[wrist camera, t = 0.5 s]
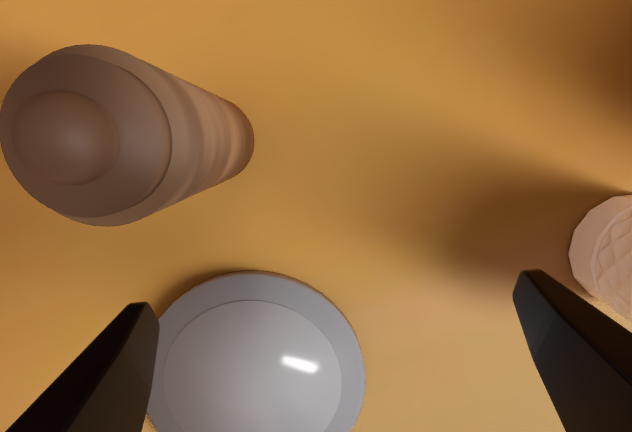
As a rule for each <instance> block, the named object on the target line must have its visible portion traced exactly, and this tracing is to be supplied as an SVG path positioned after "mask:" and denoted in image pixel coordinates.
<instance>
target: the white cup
mask: <svg viewBox="0 0 632 432" xmlns="http://www.w3.org/2000/svg"><path fill="white" fill-rule="evenodd" d="M568 255H569V260H570V264H571V268H572V272H573V276H574V278H575V279H576V280H577V281H578V282H579V283H580V284H581V285H582V287H583V288H584V289H585V290H586V291H587V292H588V293H589V294H590V295H592V296H593V297H595V298H597V299H598V300H600V301H602V302H603V303H605V304H606V305H608V306H610V307H611V308H612V309H614V310H615V311H616V312H617V313H619V314H620V315H621V316H623V317H624V318H625V319H627V320H628V321H630V322H631V323H632V195H623V196H614V197H612V198H610V199H608V200H606V201H605V202H603V203H601V204H599V205H598V206H596V207H594V208H592V209H591V210H590V211H589V212H588V213H587V214H586V216H585V217H584V218H583V220H582V221H581V222H580V223H579V225H578V226H577V227H576V229H575V230H574V233H573V237H572V241H571V245H570V249H569V253H568Z"/></svg>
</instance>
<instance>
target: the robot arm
mask: <svg viewBox="0 0 632 432" xmlns="http://www.w3.org/2000/svg"><path fill="white" fill-rule="evenodd" d="M513 302H514V305H515V308H516V311H517V314H518V317H519V320H520V323H521V326H522V329H523V332H524V335H525V338H526V341H527V344H528V347H529V350H530V353H531V355H532V358H533V361H534V363H535V365H536V368H537V370H538V372H539V374H540V377H541V379H542V381H543V383H544V385H545V387H546V390H547V392H548V394H549V396H550V398H551V400H552V402H553V405H554V407H555V409H556V411H557V413H558V415H559V418H560V420H561V422H562V424H563V426H564V428H565V431H566V432H632V333H631V332H630V331H628V330H627V329H626V328H624V327H623V326H621V325H620V324H618V323H617V322H616V321H614V320H613V319H611V318H610V317H608V316H607V315H605V314H604V313H603V312H601V311H600V310H598V309H597V308H595V307H594V306H593V305H591V304H590V303H588V302H587V301H585V300H584V299H583V298H581V297H580V296H578V295H577V294H575V293H574V292H572V291H571V290H570V289H568V288H567V287H565V286H564V285H562V284H561V283H560V282H558V281H557V280H555V279H554V278H552V277H551V276H550V275H548V274H547V273H545V272H544V271H542V270H540V269H531V270H523V271H522V272H520V274H519V277H518V279H517V282H516V285H515V288H514V290H513ZM159 332H160V325H159V322H158V319H157V318H156V316H155V314H154V312H153V310H152V308H151V306H150V305H149V303H147V302H135V303H130V304H129V305H127V306H126V307H125V308H124V309H123V310H122V311H121V312H120V313H119V314H118V315H117V316H116V318H115V319H114V320H113V321H112V322H111V323H110V324H109V325H108V326H107V327H106V328H105V329H104V330H103V331H102V332H101V333H100V334H99V335H98V336H97V337H96V338H95V339H94V340H93V341H92V342H91V343H90V344H89V345H88V347H87V348H86V349H85V350H84V351H83V352H82V353H81V354H80V355H79V356H78V357H77V358H76V359H75V360H74V361H73V362H72V363H71V364H70V365H69V366H68V367H67V368H66V369H65V370H64V371H63V372H62V373H61V374H60V376H59V377H58V378H57V379H56V380H55V381H54V382H53V383H52V384H51V385H50V386H49V387H48V388H47V389H46V390H45V391H44V392H43V393H42V394H41V395H40V396H39V397H38V398H37V399H36V400H35V401H34V402H33V403H32V404H31V406H30V407H29V408H28V409H27V410H26V411H25V412H24V413H23V414H22V415H21V416H20V417H19V418H18V419H17V420H16V421H15V422H14V423H13V424H12V425H11V426H10V427H9V428H8V429H7V430H6V431H5V432H141V431H142V427H143V423H144V419H145V415H146V411H147V407H148V403H149V399H150V395H151V390H152V384H153V377H154V369H155V362H156V355H157V347H158V340H159Z"/></svg>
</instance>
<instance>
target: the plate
mask: <svg viewBox="0 0 632 432" xmlns="http://www.w3.org/2000/svg"><path fill="white" fill-rule="evenodd" d="M158 322H159V325H160V332H159V340H158V347H157V355H156V362H155V369H154V377H153V384H152V390H151V395H150V399H149V403H148V407H147V413H148V415H149V417H150V419H151V421H152V423H153V425H154V426H155V428H156V429H157V431H158V432H350V431H351V429H352V428H353V426H354V424H355V422H356V420H357V418H358V416H359V413H360V411H361V407H362V403H363V399H364V394H365V384H366V381H365V367H364V362H363V357H362V352H361V348H360V345H359V342H358V339H357V336H356V334H355V332H354V330H353V328H352V326H351V324H350V323H349V321H348V320H347V318H346V317H345V316H344V314H343V313H342V311H341V310H340V309H339V308H338V307H337V306H336V305H335V304H334V303H333V302H332V301H331V300H330V299H329V298H327V297H326V296H325V295H324V294H323V293H321V292H320V291H318V290H317V289H315V288H313V287H312V286H310V285H308V284H306V283H304V282H302V281H300V280H298V279H295V278H292V277H289V276H286V275H283V274H278V273H273V272H268V271H237V272H232V273H227V274H222V275H219V276H216V277H213V278H210V279H208V280H206V281H203V282H201V283H199V284H197V285H195V286H194V287H192V288H191V289H189V290H188V291H186V292H185V293H184V294H182V295H181V296H180V297H179V298H178V299H177V300H175V301H174V302H173V303H172V305H171V306H170V307H169V308H168V309H167V310H166V312H165V313H164V314H163V315H162V316H161V317H160V318H159V320H158Z"/></svg>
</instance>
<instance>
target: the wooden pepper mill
mask: <svg viewBox="0 0 632 432" xmlns="http://www.w3.org/2000/svg"><path fill="white" fill-rule="evenodd" d="M0 142H1V147H2V151H3V154H4V157H5V160H6V162H7V164H8V166H9V168H10V170H11V172H12V173H13V175H14V176H15V178H16V179H17V181H18V182H19V183H20V184H21V186H22V187H23V188H24V189H25V190H26V191H27V192H28V193H29V194H30V195H31V196H32V197H34V198H35V199H36V200H38V201H39V202H40V203H42V204H44V205H45V206H47V207H48V208H51V209H52V210H54V211H56V212H57V213H59V214H61V215H62V216H65V217H67V218H69V219H71V220H74V221H77V222H80V223H83V224H88V225H93V226H119V225H124V224H129V223H132V222H135V221H138V220H140V219H142V218H144V217H147V216H149V215H151V214H153V213H155V212H158V211H160V210H162V209H164V208H166V207H169V206H171V205H173V204H175V203H177V202H180V201H182V200H184V199H186V198H188V197H191V196H193V195H195V194H197V193H199V192H202V191H204V190H206V189H208V188H210V187H213V186H215V185H217V184H219V183H221V182H224V181H226V180H228V179H230V178H232V177H234V176H236V175H237V174H239V173H240V172H241V171H242V170H243V169H244V168H245V167H246V166H247V164H248V162H249V161H250V159H251V156H252V153H253V149H254V133H253V129H252V126H251V124H250V122H249V120H248V118H247V117H246V115H245V114H244V113H243V111H242V110H241V109H240V108H238V107H237V106H236V105H234V104H233V103H231V102H229V101H227V100H225V99H223V98H221V97H219V96H217V95H215V94H213V93H210V92H208V91H206V90H204V89H202V88H200V87H198V86H196V85H194V84H191V83H189V82H187V81H185V80H183V79H181V78H179V77H177V76H174V75H172V74H170V73H168V72H166V71H164V70H162V69H160V68H158V67H155V66H153V65H151V64H149V63H147V62H145V61H143V60H141V59H139V58H136V57H134V56H132V55H130V54H128V53H126V52H123V51H120V50H118V49H115V48H111V47H107V46H102V45H90V44H87V45H75V46H70V47H65V48H62V49H60V50H57V51H54V52H52V53H50V54H48V55H47V56H45V57H43V58H42V59H40V60H39V61H38V62H36V63H35V64H33V65H32V66H30V67H29V68H28V69H26V70H25V71H24V72H23V73H22V74H21V75H20V76H19V77H18V78H17V79H16V80H15V81H14V83H13V84H12V85H11V87H10V88H9V90H8V92H7V94H6V96H5V99H4V101H3V104H2V107H1V113H0Z"/></svg>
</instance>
